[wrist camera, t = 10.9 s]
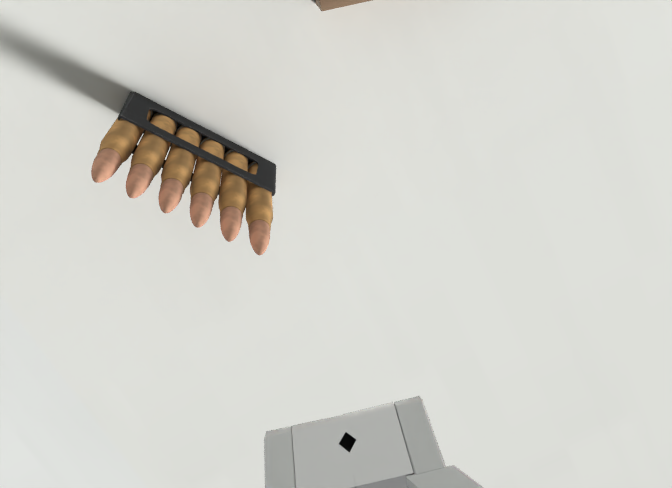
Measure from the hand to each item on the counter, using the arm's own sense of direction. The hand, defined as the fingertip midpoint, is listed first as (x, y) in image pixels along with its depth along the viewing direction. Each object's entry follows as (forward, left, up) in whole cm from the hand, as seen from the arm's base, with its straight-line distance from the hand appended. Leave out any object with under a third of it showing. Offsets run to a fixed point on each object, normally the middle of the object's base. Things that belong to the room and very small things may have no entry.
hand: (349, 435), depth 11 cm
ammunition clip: (+3, -7, -31) cm, 32 cm away
